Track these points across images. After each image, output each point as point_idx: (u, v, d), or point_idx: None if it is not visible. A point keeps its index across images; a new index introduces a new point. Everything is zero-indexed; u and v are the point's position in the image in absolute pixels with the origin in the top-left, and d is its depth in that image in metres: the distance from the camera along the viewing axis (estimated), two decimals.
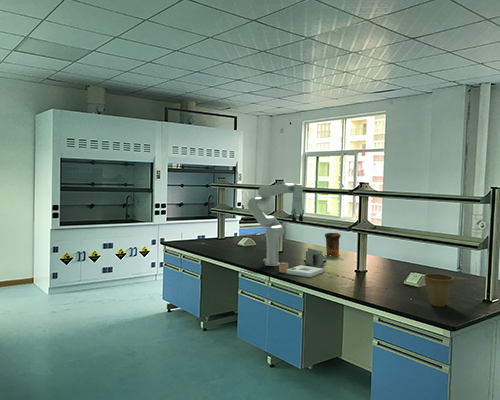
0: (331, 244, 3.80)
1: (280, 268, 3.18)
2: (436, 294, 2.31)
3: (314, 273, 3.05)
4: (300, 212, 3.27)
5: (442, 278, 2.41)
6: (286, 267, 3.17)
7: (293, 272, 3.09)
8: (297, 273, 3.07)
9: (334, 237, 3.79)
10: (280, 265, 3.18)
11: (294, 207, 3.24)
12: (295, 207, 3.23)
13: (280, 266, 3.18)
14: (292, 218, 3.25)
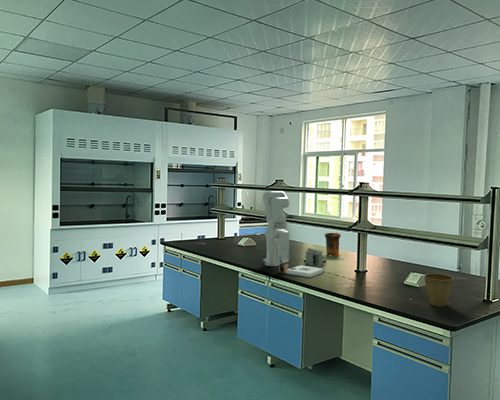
0: (331, 244, 3.80)
1: None
2: (436, 294, 2.31)
3: (314, 273, 3.05)
4: (286, 260, 3.18)
5: (442, 278, 2.41)
6: (286, 267, 3.17)
7: (293, 272, 3.09)
8: (297, 273, 3.07)
9: (334, 237, 3.79)
10: None
11: (280, 255, 3.14)
12: (281, 255, 3.14)
13: None
14: (280, 267, 3.17)
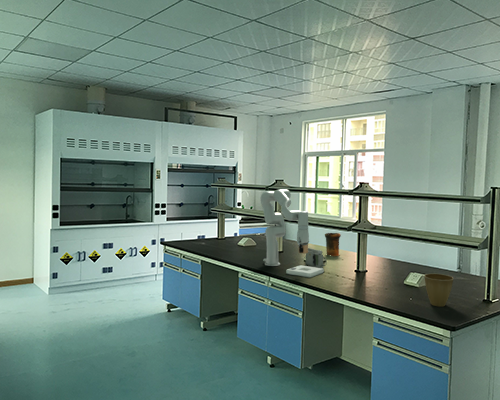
0: (331, 244, 3.80)
1: None
2: (436, 294, 2.31)
3: (314, 273, 3.05)
4: (306, 241, 3.13)
5: (442, 278, 2.41)
6: (305, 248, 3.12)
7: (293, 272, 3.09)
8: (297, 273, 3.07)
9: (334, 237, 3.79)
10: None
11: (299, 236, 3.09)
12: (300, 236, 3.09)
13: None
14: (299, 248, 3.12)
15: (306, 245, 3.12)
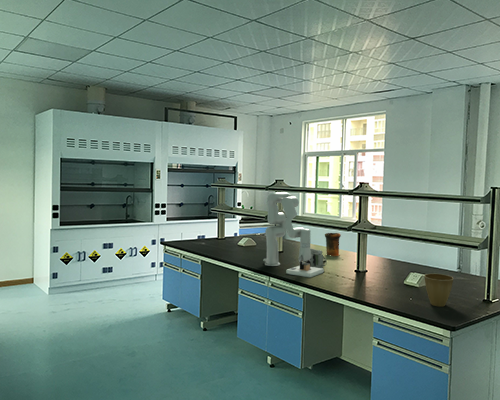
0: (331, 244, 3.80)
1: None
2: (436, 294, 2.31)
3: (314, 273, 3.05)
4: (308, 258, 3.13)
5: (442, 278, 2.41)
6: (307, 267, 3.13)
7: (293, 272, 3.09)
8: (297, 273, 3.07)
9: (334, 237, 3.79)
10: None
11: (302, 253, 3.10)
12: (303, 253, 3.09)
13: None
14: (300, 265, 3.11)
15: (308, 265, 3.13)
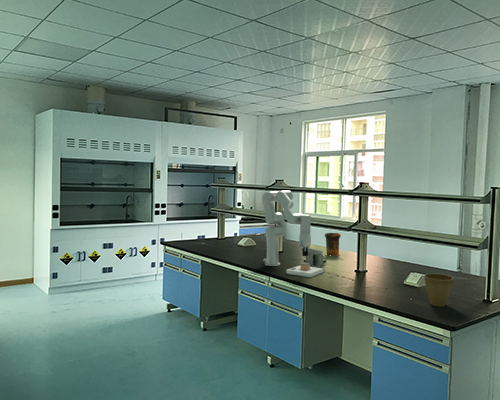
0: (331, 244, 3.80)
1: (301, 268, 3.13)
2: (436, 294, 2.31)
3: (314, 273, 3.05)
4: (308, 244, 3.13)
5: (442, 278, 2.41)
6: (307, 267, 3.13)
7: (293, 272, 3.09)
8: (297, 273, 3.07)
9: (334, 237, 3.79)
10: (301, 265, 3.13)
11: (302, 239, 3.09)
12: (303, 239, 3.09)
13: (301, 266, 3.13)
14: (302, 252, 3.13)
15: (308, 265, 3.13)
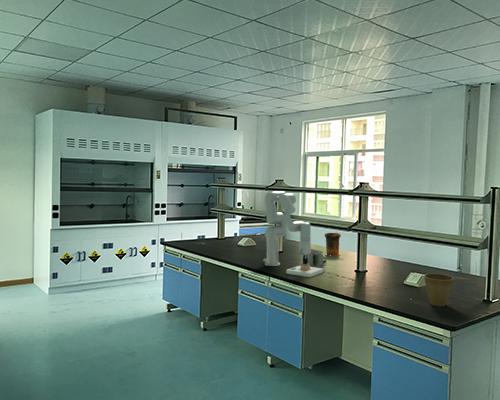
0: (331, 244, 3.80)
1: (301, 268, 3.13)
2: (436, 294, 2.31)
3: (314, 273, 3.05)
4: (308, 252, 3.13)
5: (442, 278, 2.41)
6: (307, 267, 3.13)
7: (293, 272, 3.09)
8: (297, 273, 3.07)
9: (334, 237, 3.79)
10: (301, 265, 3.13)
11: (302, 247, 3.09)
12: (303, 247, 3.09)
13: (301, 266, 3.13)
14: (303, 259, 3.14)
15: (308, 265, 3.13)
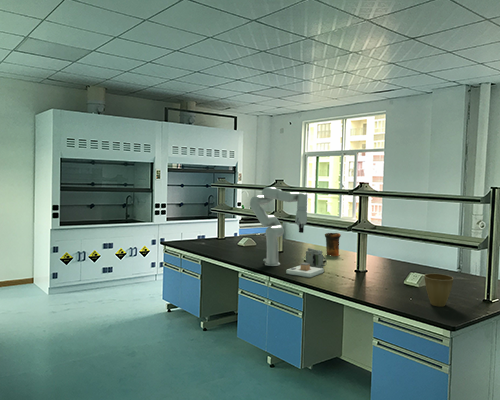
0: (331, 244, 3.80)
1: (301, 268, 3.13)
2: (436, 294, 2.31)
3: (314, 273, 3.05)
4: (304, 221, 3.25)
5: (442, 278, 2.41)
6: (307, 267, 3.13)
7: (293, 272, 3.09)
8: (297, 273, 3.07)
9: (334, 237, 3.79)
10: (301, 265, 3.13)
11: (298, 216, 3.22)
12: (299, 216, 3.21)
13: (301, 266, 3.13)
14: (299, 228, 3.27)
15: (308, 265, 3.13)
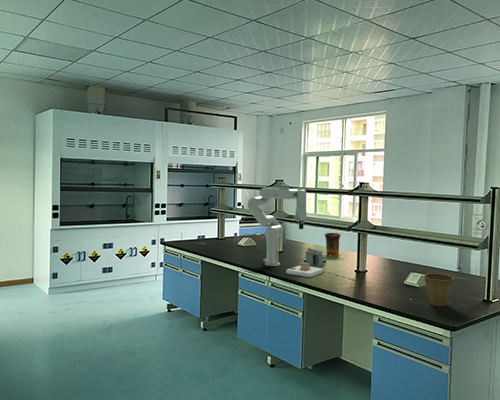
0: (331, 244, 3.80)
1: (301, 268, 3.13)
2: (436, 294, 2.31)
3: (314, 273, 3.05)
4: (304, 218, 3.28)
5: (442, 278, 2.41)
6: (307, 267, 3.13)
7: (293, 272, 3.09)
8: (297, 273, 3.07)
9: (334, 237, 3.79)
10: (301, 265, 3.13)
11: (298, 213, 3.24)
12: (299, 213, 3.24)
13: (301, 266, 3.13)
14: (299, 225, 3.29)
15: (308, 265, 3.13)
